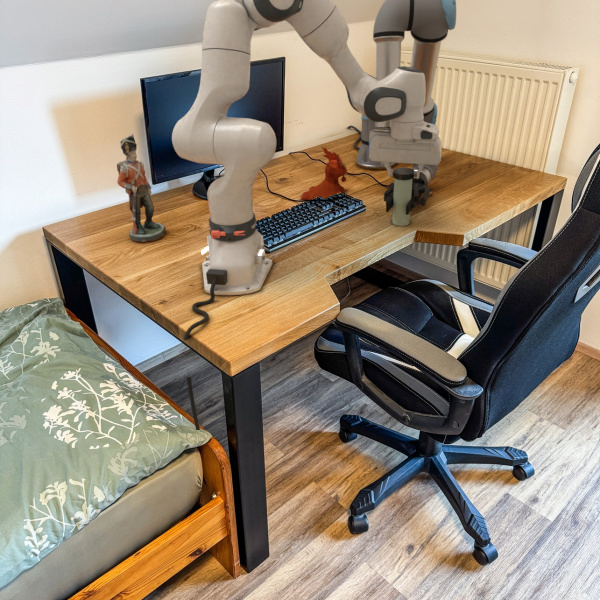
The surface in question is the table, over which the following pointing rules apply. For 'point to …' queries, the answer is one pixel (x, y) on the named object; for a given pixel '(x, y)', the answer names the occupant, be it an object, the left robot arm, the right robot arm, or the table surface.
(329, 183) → the toy
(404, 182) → the jar
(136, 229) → the figurine
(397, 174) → the lid
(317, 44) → the left robot arm
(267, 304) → the table surface
